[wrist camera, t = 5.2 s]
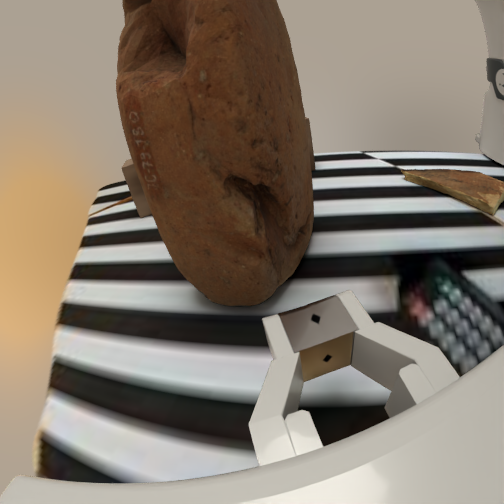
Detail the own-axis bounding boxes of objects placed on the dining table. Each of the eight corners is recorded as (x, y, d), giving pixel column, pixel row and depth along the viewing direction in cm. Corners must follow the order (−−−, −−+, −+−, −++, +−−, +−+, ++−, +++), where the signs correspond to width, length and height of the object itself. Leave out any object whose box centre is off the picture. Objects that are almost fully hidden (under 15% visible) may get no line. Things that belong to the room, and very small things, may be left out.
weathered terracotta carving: (238, 218, 26) (184, -8, 15) (323, 220, 23) (282, -36, 12) (173, 307, 18) (65, -15, 7) (287, 327, 16) (198, -96, 4)
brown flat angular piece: (400, 182, 28) (400, 166, 27) (432, 165, 30) (433, 151, 29) (491, 222, 19) (495, 204, 18) (509, 196, 22) (512, 181, 21)
